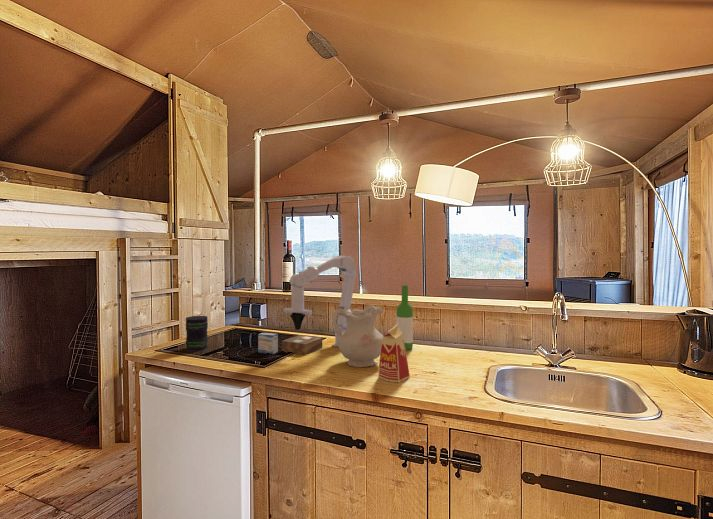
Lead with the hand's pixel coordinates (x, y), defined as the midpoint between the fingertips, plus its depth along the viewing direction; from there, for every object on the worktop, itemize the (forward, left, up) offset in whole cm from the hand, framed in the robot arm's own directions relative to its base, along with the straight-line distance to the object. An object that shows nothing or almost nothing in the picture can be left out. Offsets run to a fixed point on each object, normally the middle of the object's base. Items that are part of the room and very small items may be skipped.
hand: (297, 329), depth 187 cm
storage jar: (+46, +18, -11) cm, 50 cm away
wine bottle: (-41, -29, -11) cm, 52 cm away
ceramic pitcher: (-33, +3, -11) cm, 35 cm away
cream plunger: (0, -7, -10) cm, 13 cm away
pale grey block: (0, 0, -10) cm, 10 cm away
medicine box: (+12, +7, -11) cm, 17 cm away
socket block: (0, -4, -10) cm, 11 cm away
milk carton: (-53, +13, -11) cm, 56 cm away
